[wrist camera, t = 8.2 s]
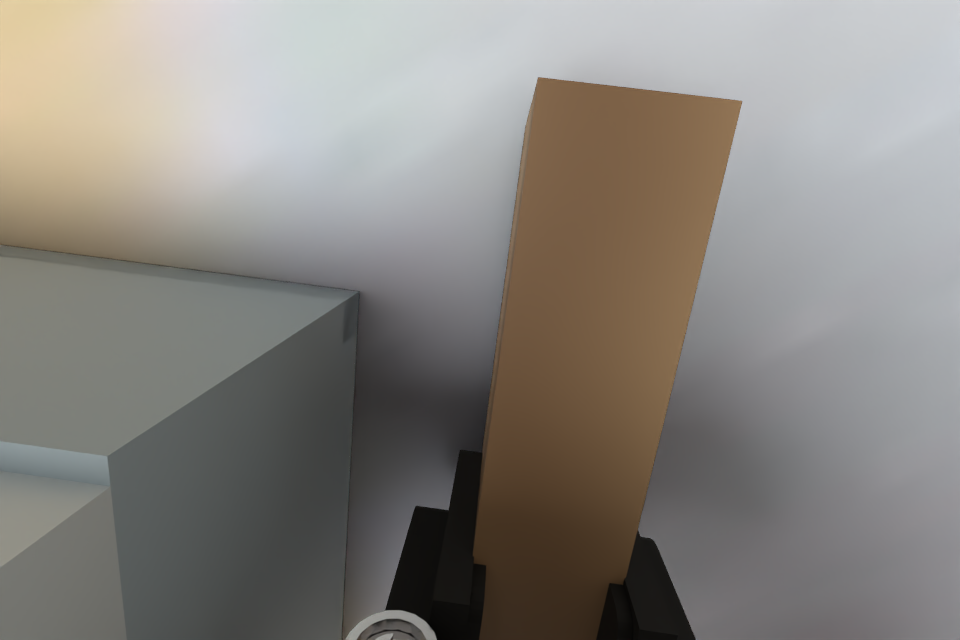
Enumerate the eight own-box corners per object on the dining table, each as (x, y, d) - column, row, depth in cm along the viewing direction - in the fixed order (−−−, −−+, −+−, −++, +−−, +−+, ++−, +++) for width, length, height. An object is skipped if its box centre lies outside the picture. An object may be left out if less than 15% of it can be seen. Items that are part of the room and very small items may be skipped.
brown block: (642, 141, 9) (742, 100, 5) (525, 737, 13) (532, 958, 9) (525, 127, 9) (538, 76, 5) (445, 725, 13) (419, 940, 9)
